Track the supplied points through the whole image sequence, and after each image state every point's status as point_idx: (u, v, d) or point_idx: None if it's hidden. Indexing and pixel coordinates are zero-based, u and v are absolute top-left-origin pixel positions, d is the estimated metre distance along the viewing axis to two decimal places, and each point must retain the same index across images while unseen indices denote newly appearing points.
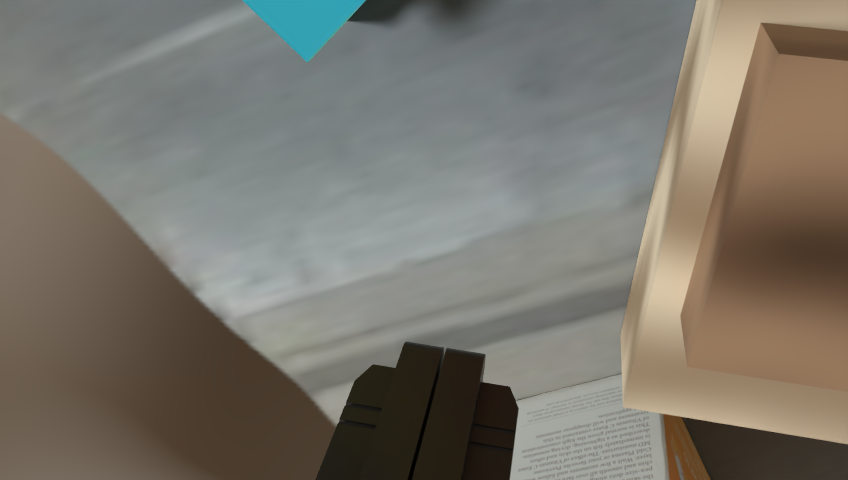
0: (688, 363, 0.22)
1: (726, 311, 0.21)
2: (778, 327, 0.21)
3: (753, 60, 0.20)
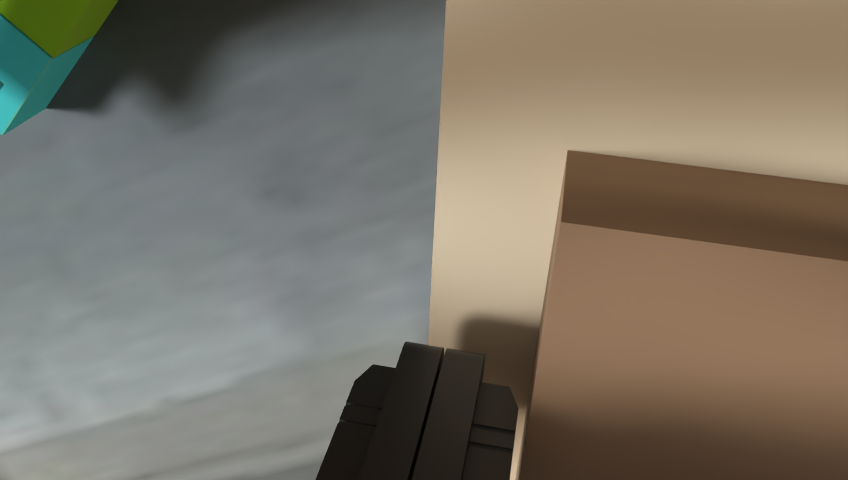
0: None
1: None
2: None
3: (559, 205, 0.13)
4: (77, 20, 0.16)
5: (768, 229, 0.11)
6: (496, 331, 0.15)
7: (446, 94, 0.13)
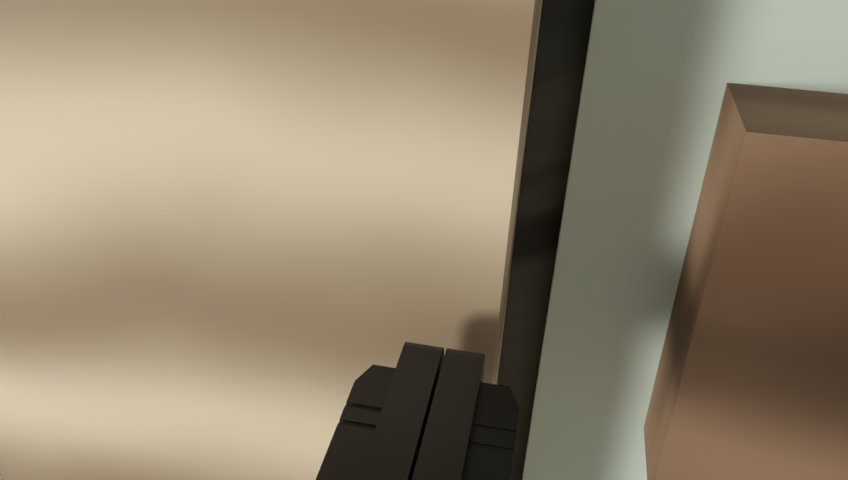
0: None
1: None
2: None
3: None
4: None
5: None
6: None
7: None
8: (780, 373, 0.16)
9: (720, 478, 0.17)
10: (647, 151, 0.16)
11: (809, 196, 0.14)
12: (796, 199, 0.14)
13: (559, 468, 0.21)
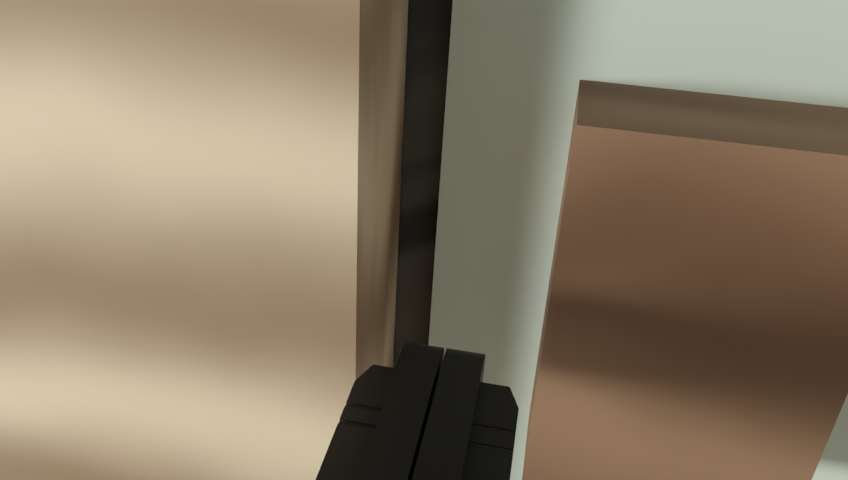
0: None
1: None
2: None
3: None
4: None
5: (749, 108, 0.15)
6: None
7: None
8: (630, 357, 0.16)
9: (585, 460, 0.18)
10: (511, 145, 0.17)
11: (640, 187, 0.14)
12: (628, 190, 0.14)
13: None
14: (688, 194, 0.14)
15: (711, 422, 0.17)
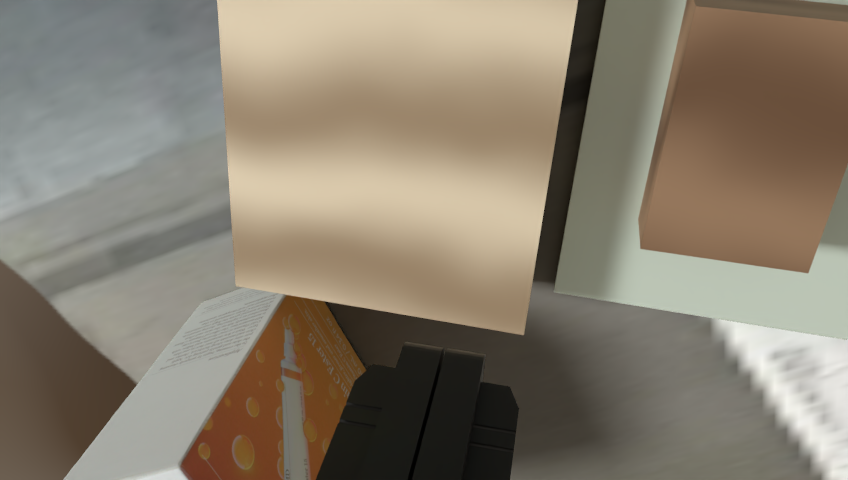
0: None
1: None
2: None
3: None
4: None
5: (789, 3, 0.26)
6: (256, 79, 0.28)
7: None
8: (716, 154, 0.28)
9: (683, 228, 0.29)
10: (644, 31, 0.28)
11: (729, 43, 0.26)
12: (722, 45, 0.26)
13: (583, 252, 0.33)
14: (756, 46, 0.26)
15: (762, 197, 0.28)
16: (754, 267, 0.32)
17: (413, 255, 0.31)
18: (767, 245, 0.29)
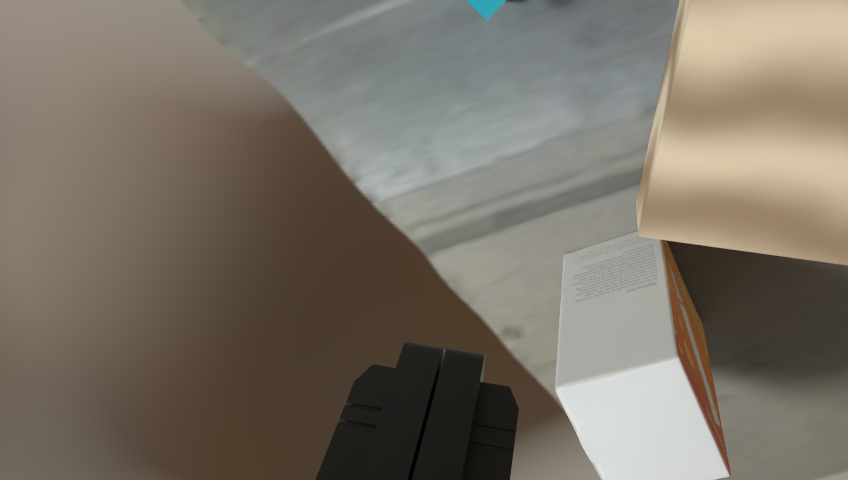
0: None
1: None
2: None
3: None
4: None
5: None
6: (702, 79, 0.39)
7: None
8: None
9: None
10: None
11: None
12: None
13: None
14: None
15: None
16: None
17: (794, 208, 0.41)
18: None
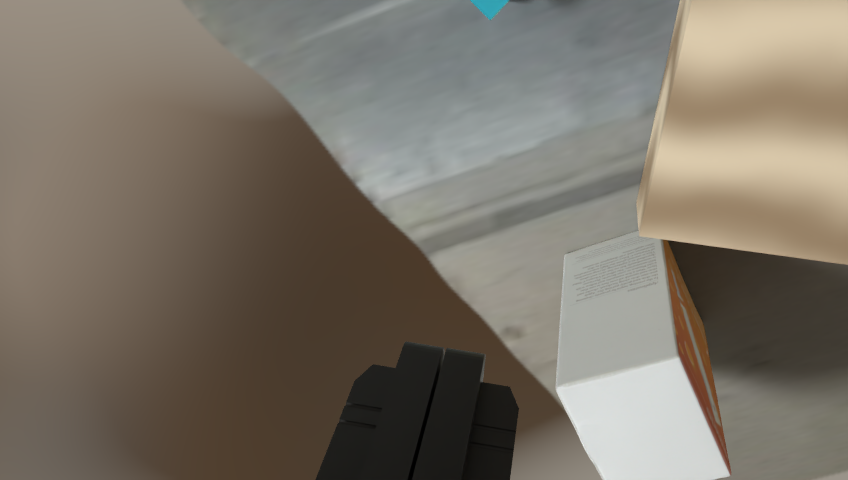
0: None
1: None
2: None
3: None
4: None
5: None
6: (702, 78, 0.39)
7: None
8: None
9: None
10: None
11: None
12: None
13: None
14: None
15: None
16: None
17: (795, 208, 0.41)
18: None
